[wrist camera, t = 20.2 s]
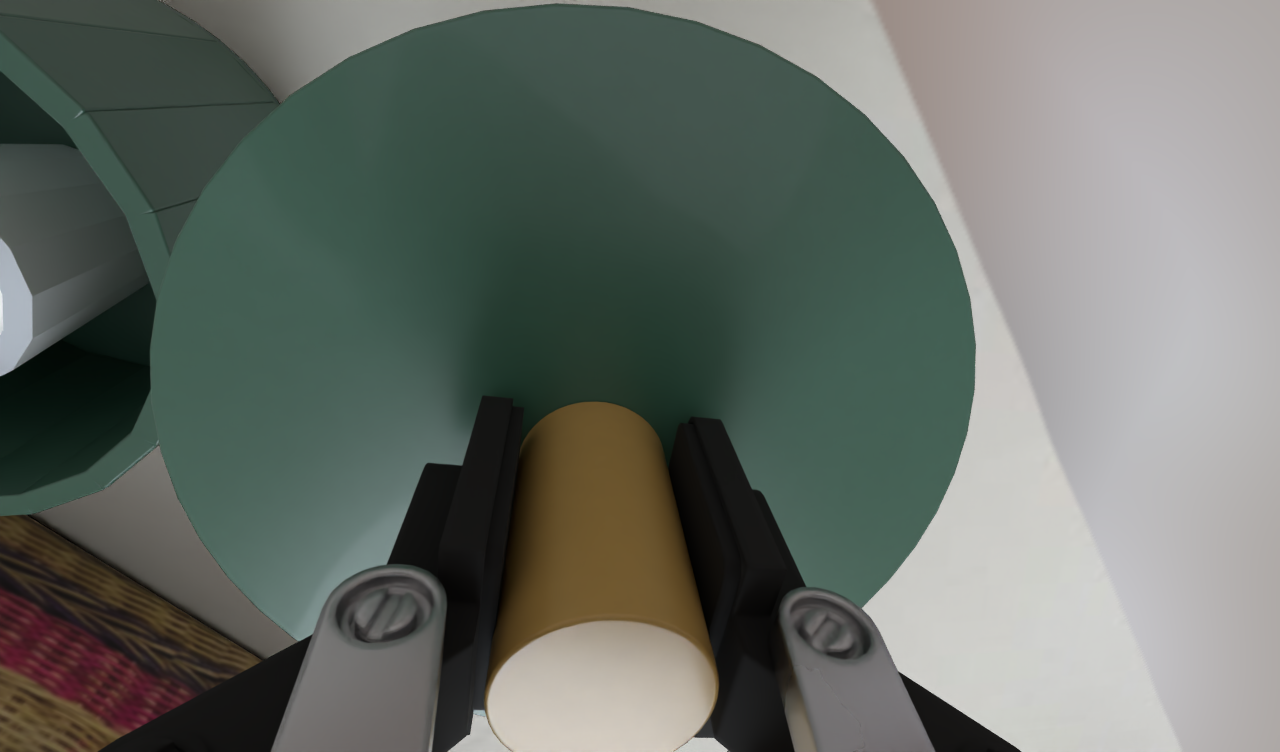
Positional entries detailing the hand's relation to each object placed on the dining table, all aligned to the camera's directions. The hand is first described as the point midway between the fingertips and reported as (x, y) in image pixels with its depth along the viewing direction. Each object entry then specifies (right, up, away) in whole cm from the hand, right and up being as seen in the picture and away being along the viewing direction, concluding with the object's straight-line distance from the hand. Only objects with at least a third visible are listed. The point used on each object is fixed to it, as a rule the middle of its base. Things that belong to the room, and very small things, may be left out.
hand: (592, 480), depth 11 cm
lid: (0, 0, +1) cm, 1 cm away
